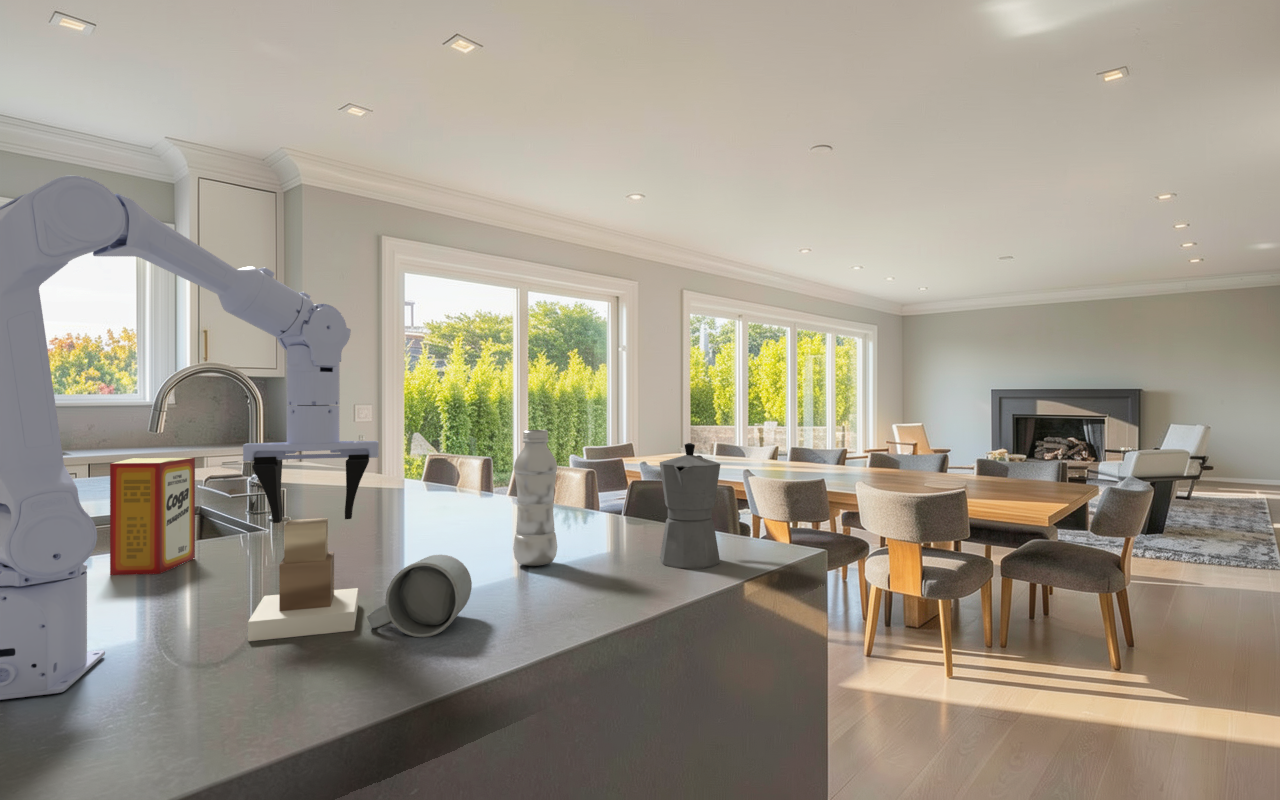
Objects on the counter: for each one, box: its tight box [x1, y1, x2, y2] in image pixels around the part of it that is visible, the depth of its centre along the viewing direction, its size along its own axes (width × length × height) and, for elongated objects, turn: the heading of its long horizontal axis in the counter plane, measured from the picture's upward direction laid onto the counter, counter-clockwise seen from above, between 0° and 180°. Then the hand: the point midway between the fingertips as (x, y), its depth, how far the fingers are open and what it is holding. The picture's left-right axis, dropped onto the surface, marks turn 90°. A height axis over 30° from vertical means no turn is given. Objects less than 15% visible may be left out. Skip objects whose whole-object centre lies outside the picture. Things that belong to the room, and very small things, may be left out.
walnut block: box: [278, 551, 335, 611], centre depth 78 cm, size 5×5×5 cm
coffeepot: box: [659, 442, 722, 570], centre depth 108 cm, size 15×9×18 cm, turn 164°
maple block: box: [283, 517, 329, 563], centre depth 78 cm, size 4×4×4 cm
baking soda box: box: [109, 457, 196, 576], centre depth 104 cm, size 10×6×16 cm
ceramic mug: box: [366, 554, 473, 638], centre depth 77 cm, size 11×8×8 cm
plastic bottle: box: [512, 429, 558, 567], centre depth 105 cm, size 6×7×20 cm
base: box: [247, 587, 359, 642], centre depth 78 cm, size 10×10×2 cm
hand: (313, 519), depth 84 cm, fingers open, 7 cm apart
